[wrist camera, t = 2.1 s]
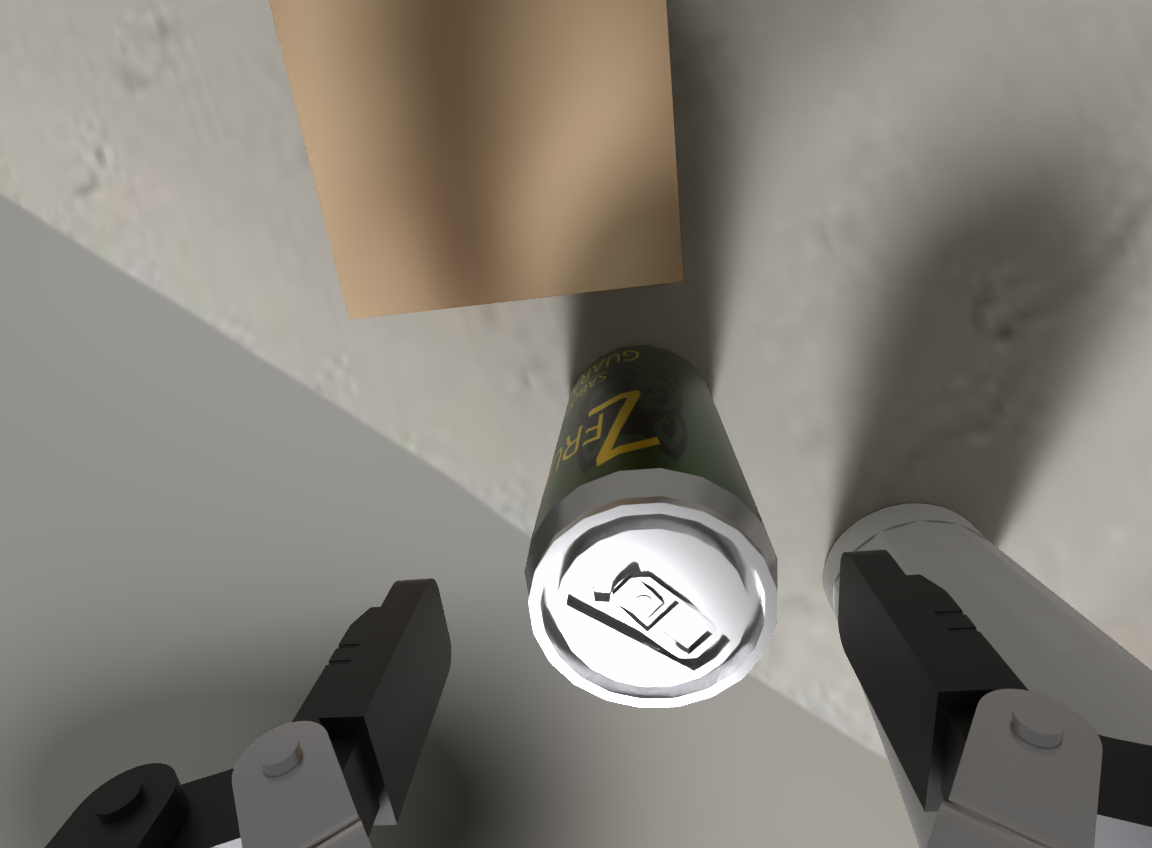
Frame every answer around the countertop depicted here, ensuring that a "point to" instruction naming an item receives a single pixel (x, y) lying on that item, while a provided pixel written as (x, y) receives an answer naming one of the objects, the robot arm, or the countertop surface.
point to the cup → (1004, 626)
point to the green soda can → (649, 540)
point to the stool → (487, 146)
